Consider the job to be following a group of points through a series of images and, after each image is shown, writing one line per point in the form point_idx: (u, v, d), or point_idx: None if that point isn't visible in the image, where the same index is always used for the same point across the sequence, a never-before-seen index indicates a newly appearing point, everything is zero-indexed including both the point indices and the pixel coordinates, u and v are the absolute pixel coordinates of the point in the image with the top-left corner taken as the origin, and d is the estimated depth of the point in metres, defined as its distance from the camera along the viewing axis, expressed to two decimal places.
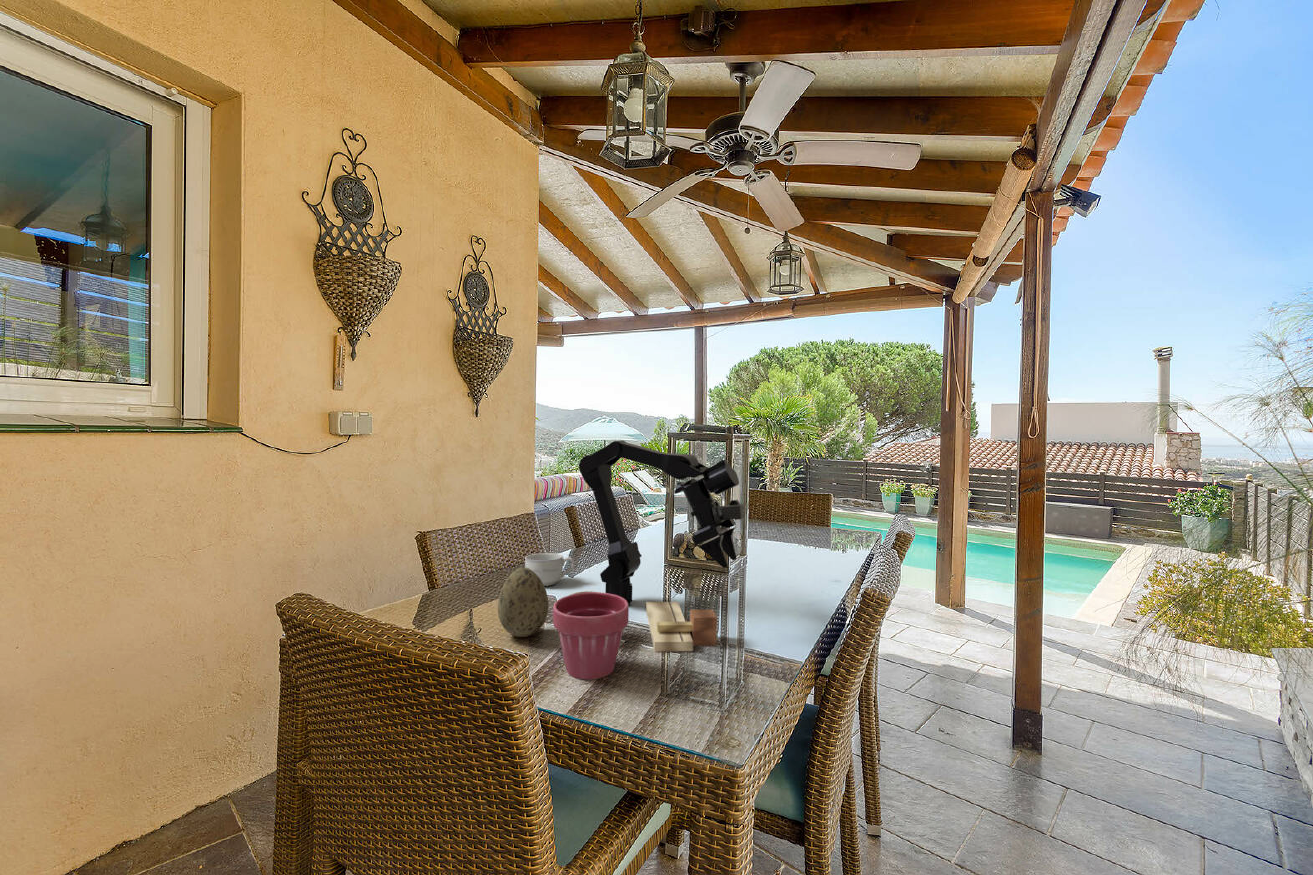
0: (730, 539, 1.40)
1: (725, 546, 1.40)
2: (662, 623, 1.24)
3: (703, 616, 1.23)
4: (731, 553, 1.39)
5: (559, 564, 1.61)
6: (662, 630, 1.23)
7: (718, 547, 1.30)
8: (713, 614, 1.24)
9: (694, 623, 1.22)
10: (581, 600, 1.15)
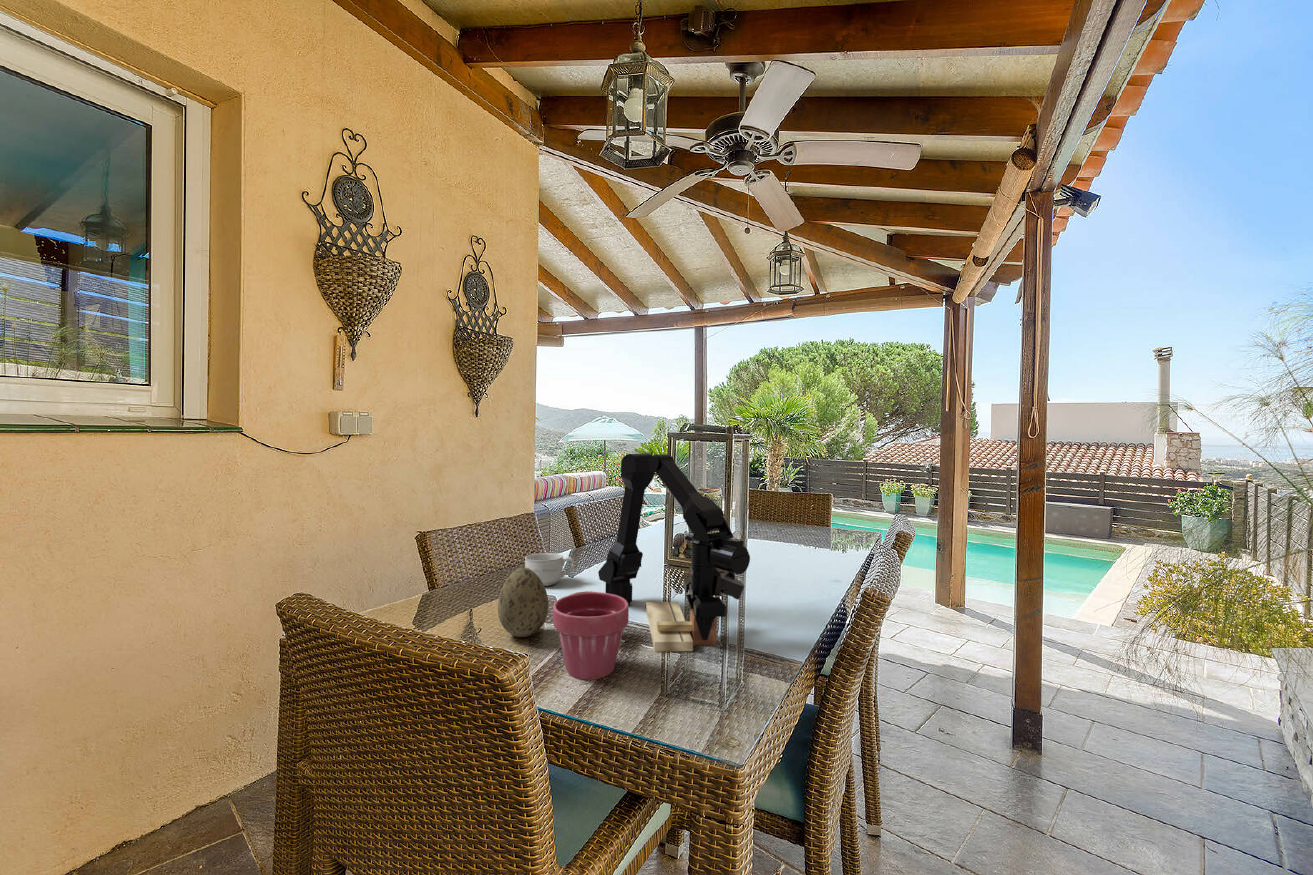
0: None
1: None
2: (662, 623, 1.24)
3: None
4: None
5: (559, 564, 1.61)
6: (662, 630, 1.23)
7: (710, 620, 1.20)
8: None
9: (694, 623, 1.22)
10: (581, 600, 1.15)
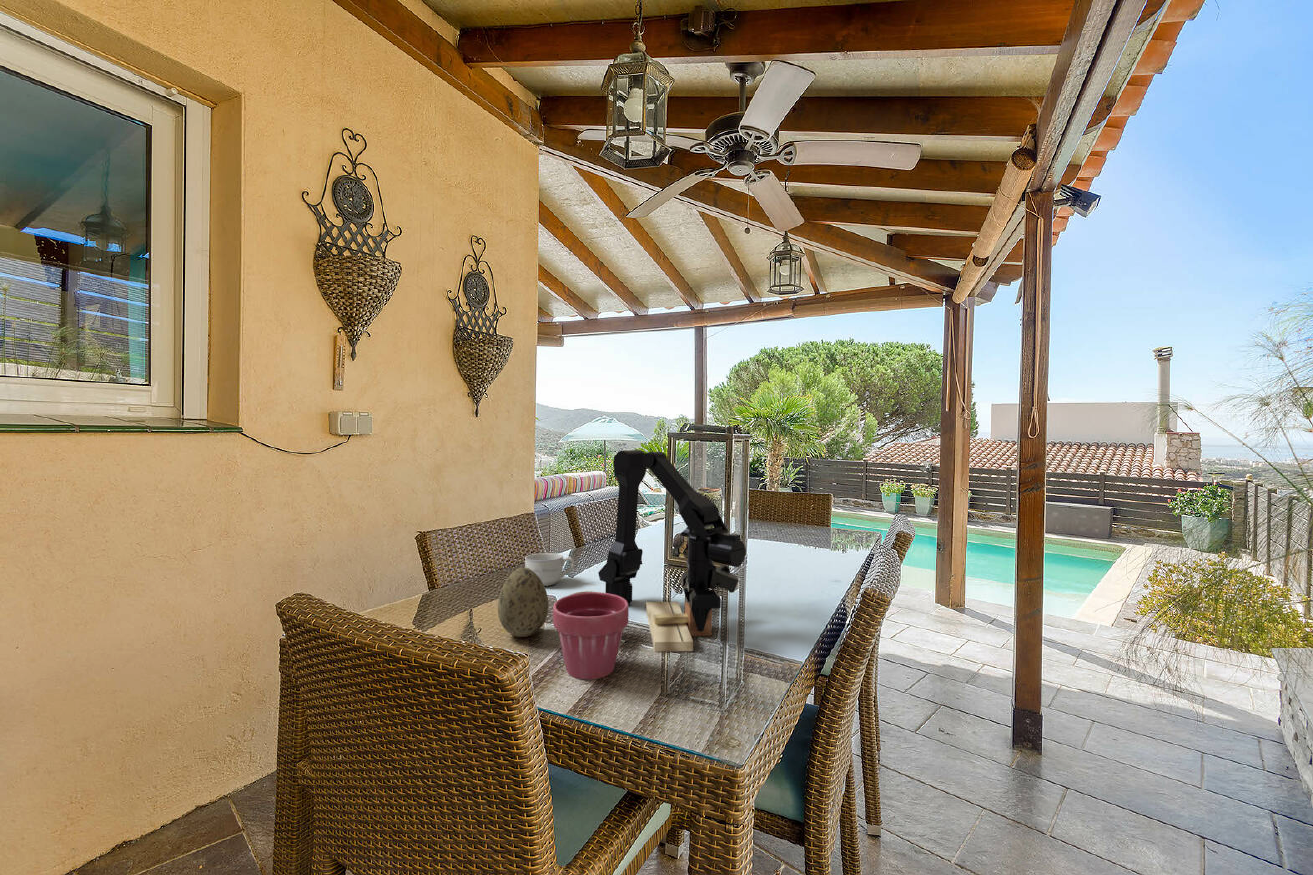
0: None
1: None
2: (659, 616, 1.28)
3: None
4: None
5: (559, 564, 1.61)
6: (659, 622, 1.27)
7: (706, 612, 1.25)
8: None
9: (690, 615, 1.27)
10: (581, 600, 1.15)
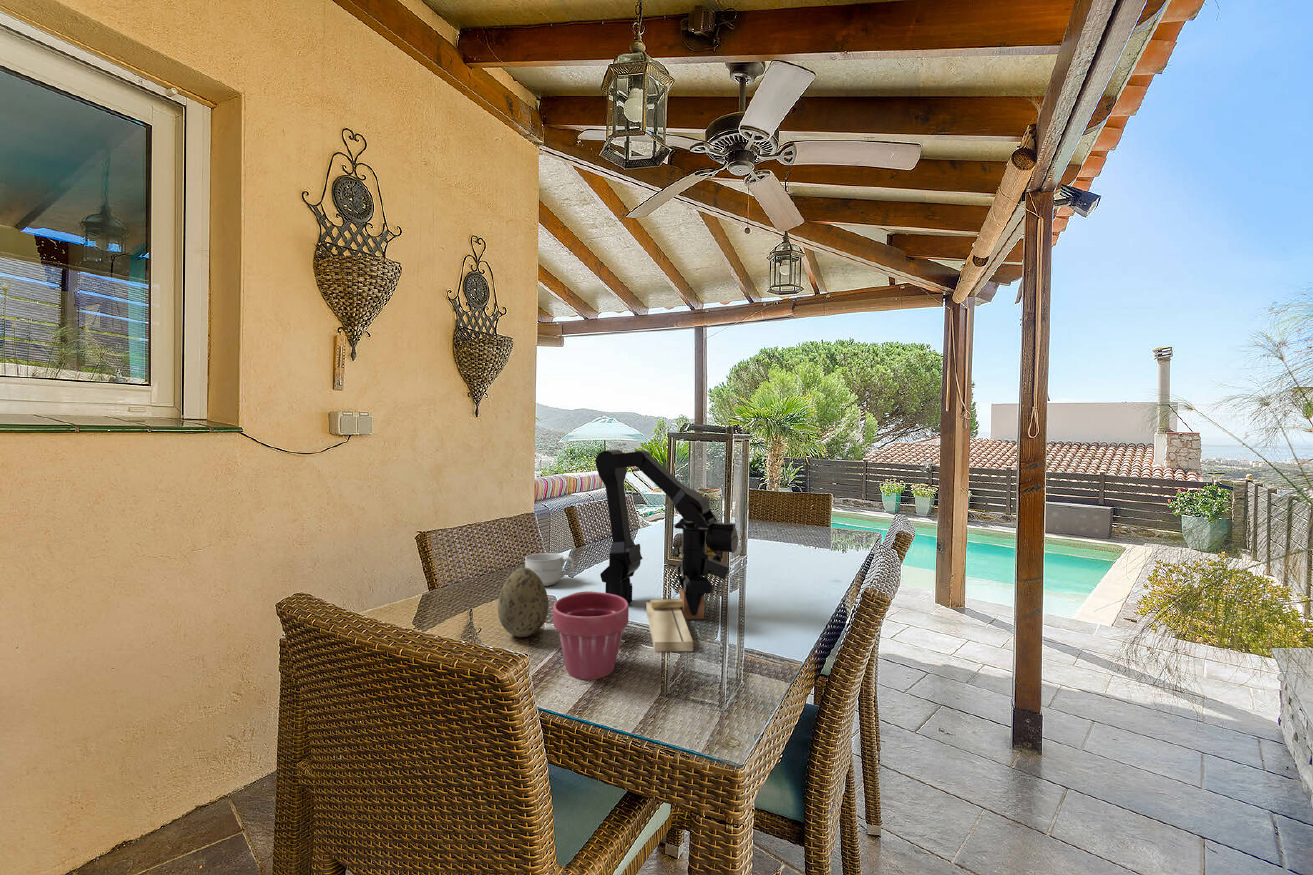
0: None
1: None
2: (655, 600, 1.38)
3: None
4: None
5: (559, 564, 1.61)
6: (656, 607, 1.37)
7: (699, 597, 1.35)
8: None
9: (684, 599, 1.36)
10: (581, 600, 1.15)
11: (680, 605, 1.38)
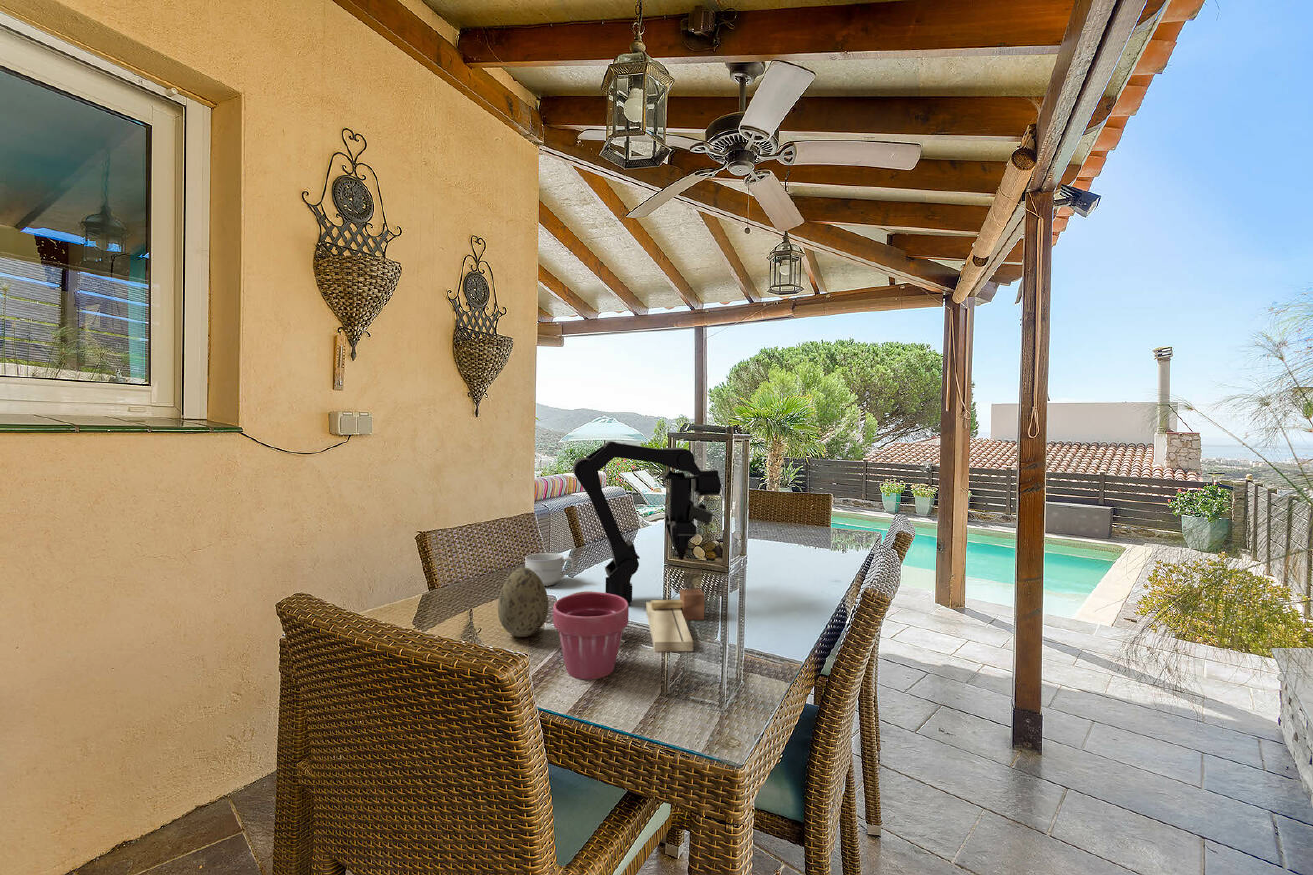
0: None
1: None
2: (655, 601, 1.38)
3: (692, 594, 1.38)
4: None
5: (559, 564, 1.61)
6: (656, 607, 1.37)
7: (686, 542, 1.45)
8: (701, 592, 1.39)
9: (684, 600, 1.36)
10: (581, 600, 1.15)
11: (680, 606, 1.38)
